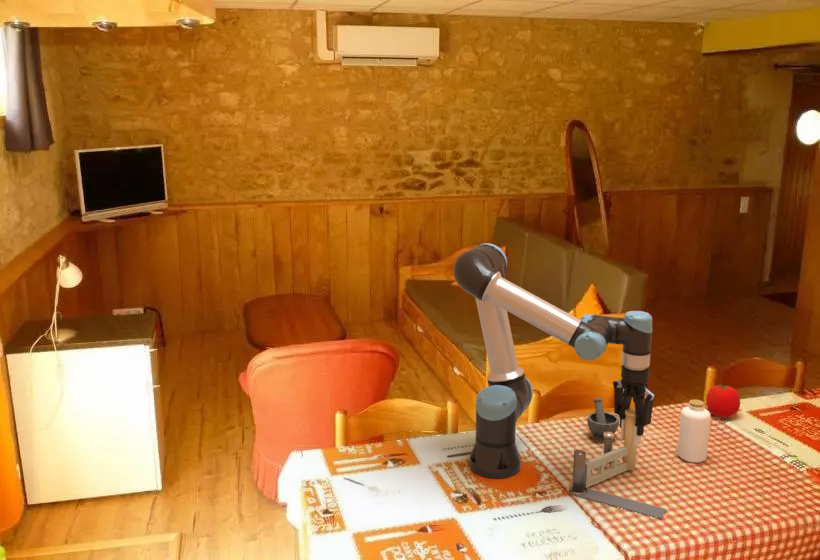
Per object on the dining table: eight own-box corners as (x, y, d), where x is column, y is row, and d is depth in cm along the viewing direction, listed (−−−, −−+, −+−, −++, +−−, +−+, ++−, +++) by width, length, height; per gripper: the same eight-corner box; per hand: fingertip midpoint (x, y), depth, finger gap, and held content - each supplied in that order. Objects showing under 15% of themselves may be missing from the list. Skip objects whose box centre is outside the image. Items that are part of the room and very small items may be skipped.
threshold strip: (571, 495, 196) (571, 493, 196) (577, 486, 201) (577, 485, 200) (661, 519, 184) (661, 518, 184) (666, 510, 189) (666, 509, 188)
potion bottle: (676, 461, 214) (681, 405, 210) (677, 449, 221) (682, 395, 217) (706, 466, 211) (712, 409, 206) (706, 453, 218) (711, 398, 214)
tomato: (744, 422, 239) (747, 392, 236) (712, 422, 239) (715, 392, 237) (730, 408, 249) (733, 380, 247) (700, 409, 249) (702, 380, 247)
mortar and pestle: (622, 443, 225) (624, 408, 222) (594, 446, 224) (596, 410, 221) (608, 428, 236) (610, 394, 233) (580, 430, 235) (582, 396, 232)
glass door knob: (597, 461, 214) (599, 435, 212) (602, 455, 218) (603, 429, 216) (612, 464, 212) (614, 438, 210) (616, 458, 216) (618, 432, 214)
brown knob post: (565, 493, 197) (567, 454, 194) (571, 485, 201) (573, 446, 198) (584, 498, 194) (586, 458, 192) (590, 490, 199) (592, 450, 196)
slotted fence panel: (589, 490, 197) (592, 431, 193) (578, 483, 201) (581, 425, 196) (639, 468, 208) (643, 412, 204) (627, 462, 212) (631, 407, 207)
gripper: (669, 371, 197) (663, 449, 202) (620, 354, 210) (616, 428, 216) (651, 377, 193) (645, 456, 198) (603, 360, 206) (599, 434, 212)
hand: (630, 441), depth 207 cm, fingers closed on slotted fence panel, 4 cm apart
